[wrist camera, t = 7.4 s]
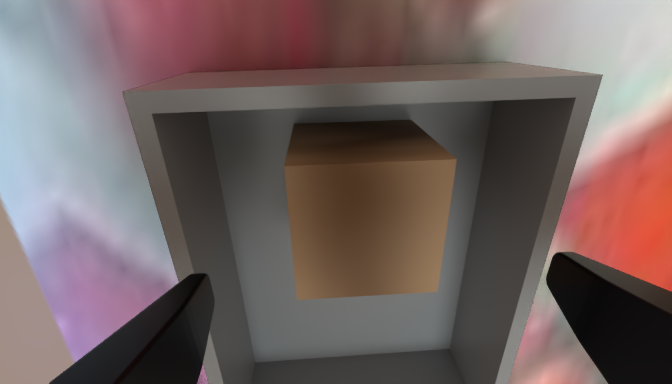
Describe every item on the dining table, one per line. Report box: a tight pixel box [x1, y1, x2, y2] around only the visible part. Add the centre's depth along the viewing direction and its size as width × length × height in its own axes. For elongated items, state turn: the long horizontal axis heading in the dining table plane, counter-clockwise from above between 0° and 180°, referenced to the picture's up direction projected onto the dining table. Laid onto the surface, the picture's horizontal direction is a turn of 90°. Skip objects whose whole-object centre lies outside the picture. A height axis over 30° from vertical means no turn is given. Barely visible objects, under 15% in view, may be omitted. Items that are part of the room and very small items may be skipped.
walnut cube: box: [284, 120, 457, 300], centre depth 13 cm, size 5×5×5 cm
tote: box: [123, 62, 603, 384], centre depth 15 cm, size 17×13×5 cm
